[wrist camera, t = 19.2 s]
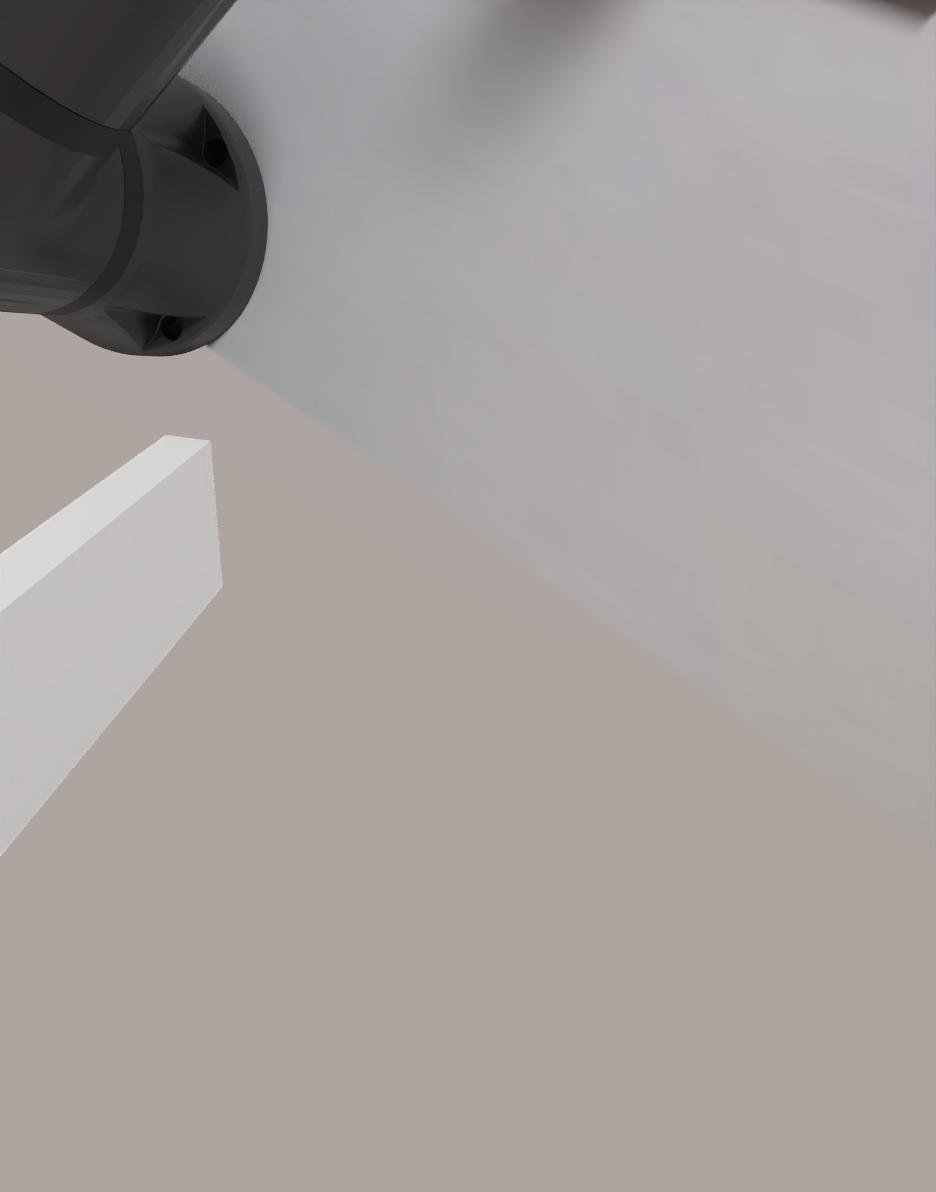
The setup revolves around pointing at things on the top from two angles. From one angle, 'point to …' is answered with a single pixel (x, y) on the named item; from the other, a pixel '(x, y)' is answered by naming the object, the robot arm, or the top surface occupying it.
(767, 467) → the top surface
